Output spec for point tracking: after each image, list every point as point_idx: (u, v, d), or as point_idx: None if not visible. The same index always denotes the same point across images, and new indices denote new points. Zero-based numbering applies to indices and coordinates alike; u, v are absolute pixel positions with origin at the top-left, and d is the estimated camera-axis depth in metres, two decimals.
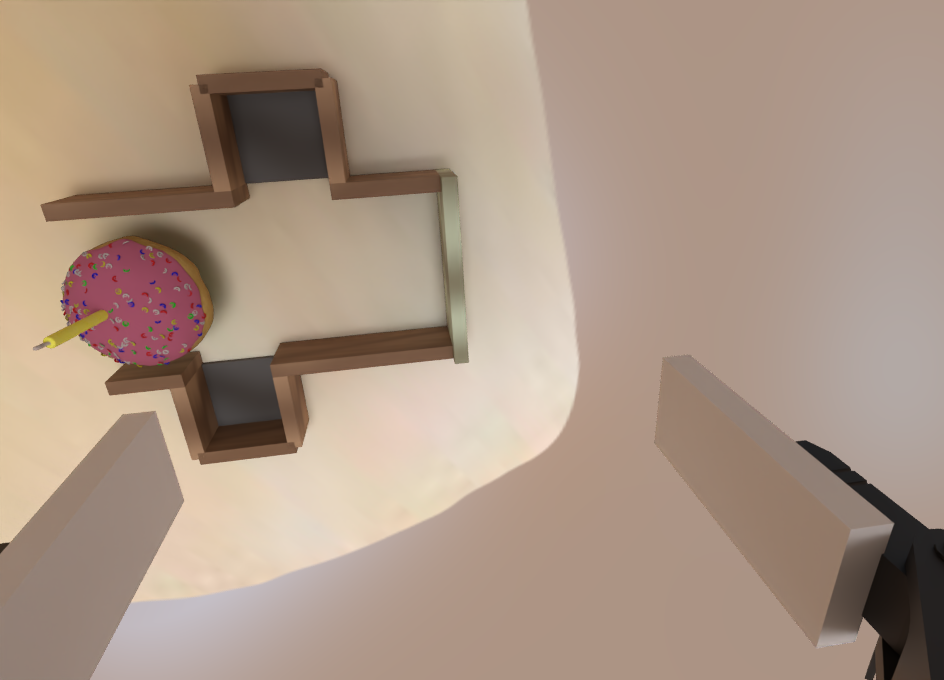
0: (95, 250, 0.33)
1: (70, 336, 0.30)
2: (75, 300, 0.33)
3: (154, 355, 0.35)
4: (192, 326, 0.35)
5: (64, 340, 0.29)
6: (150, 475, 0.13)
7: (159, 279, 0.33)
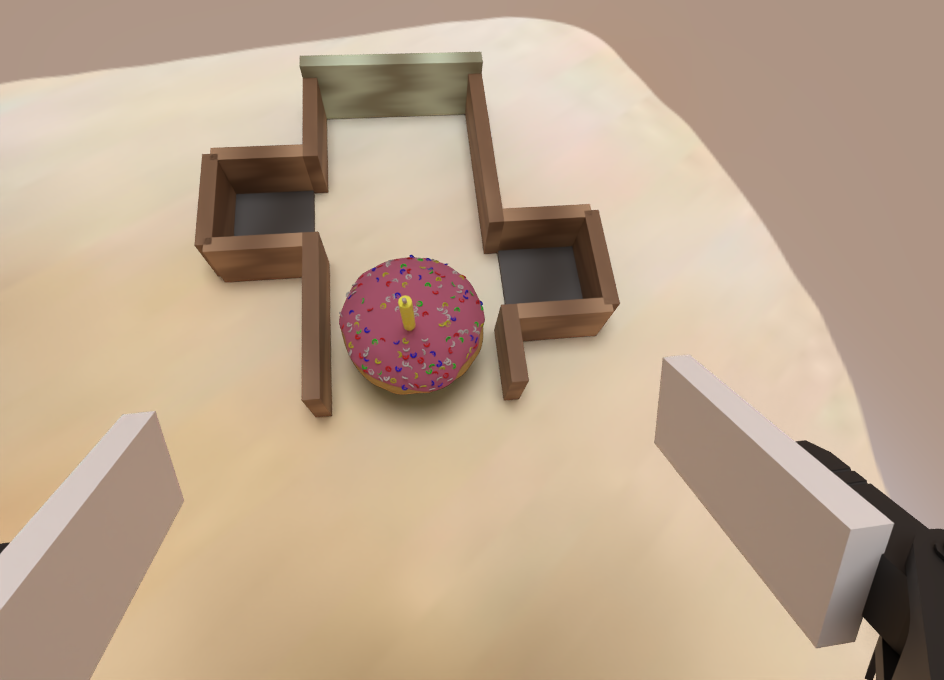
0: (346, 340, 0.31)
1: None
2: (394, 355, 0.29)
3: (464, 297, 0.31)
4: (432, 262, 0.32)
5: None
6: (150, 475, 0.13)
7: (375, 276, 0.31)
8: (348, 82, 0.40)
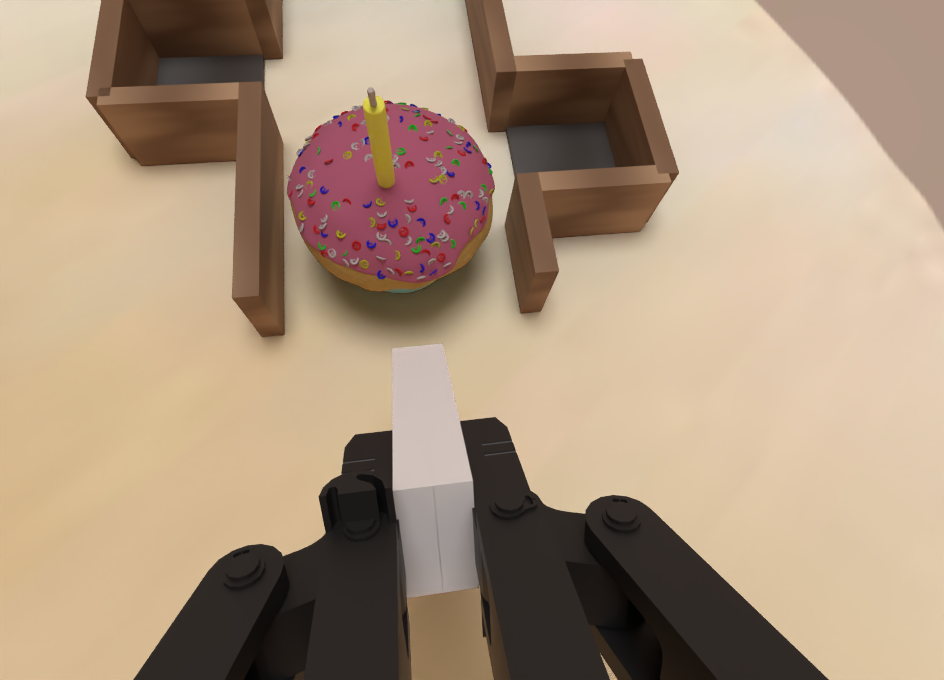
0: (296, 211, 0.21)
1: None
2: (364, 224, 0.20)
3: (465, 151, 0.22)
4: (419, 108, 0.23)
5: None
6: None
7: (338, 121, 0.22)
8: None
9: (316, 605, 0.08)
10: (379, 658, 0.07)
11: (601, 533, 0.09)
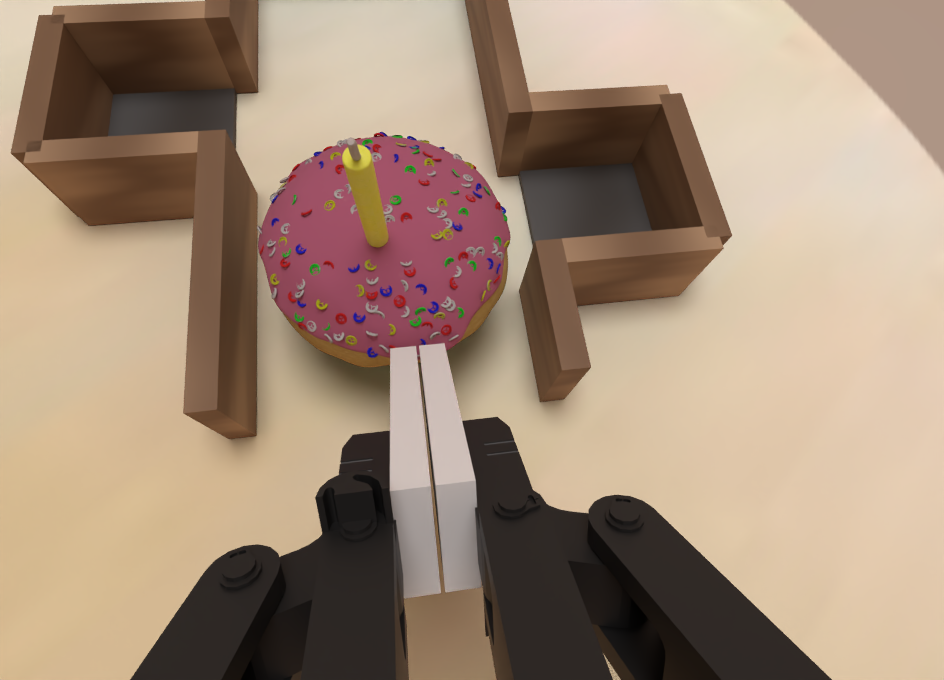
0: (268, 272, 0.17)
1: None
2: (350, 292, 0.16)
3: (475, 195, 0.18)
4: (419, 141, 0.19)
5: None
6: None
7: (319, 160, 0.18)
8: None
9: (313, 606, 0.08)
10: (376, 659, 0.07)
11: (604, 533, 0.09)
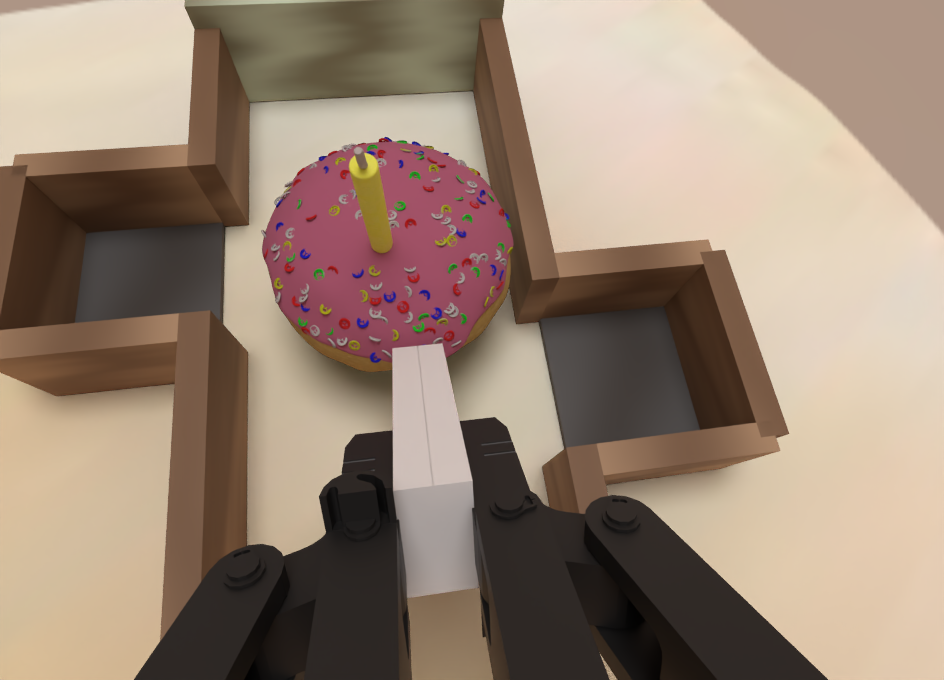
0: (271, 276, 0.17)
1: None
2: (353, 298, 0.16)
3: (478, 201, 0.18)
4: (423, 146, 0.19)
5: None
6: None
7: (323, 165, 0.18)
8: (276, 36, 0.23)
9: (316, 605, 0.08)
10: (379, 658, 0.07)
11: (601, 533, 0.09)
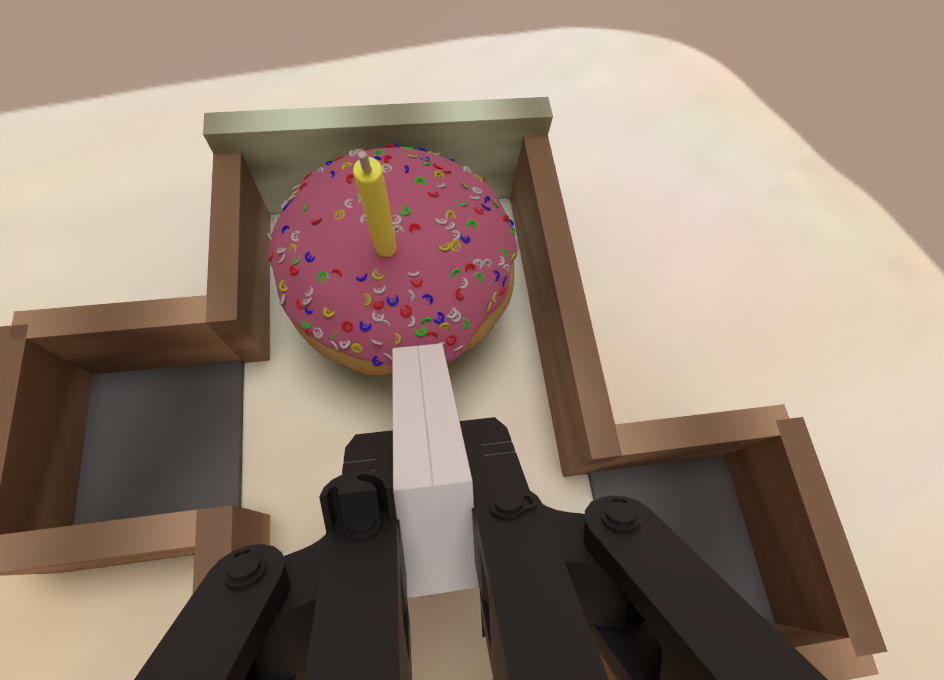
0: (276, 278, 0.17)
1: None
2: (357, 300, 0.16)
3: (483, 207, 0.18)
4: (429, 152, 0.19)
5: None
6: None
7: (330, 169, 0.18)
8: (302, 157, 0.21)
9: (317, 605, 0.08)
10: (379, 658, 0.07)
11: (600, 533, 0.09)
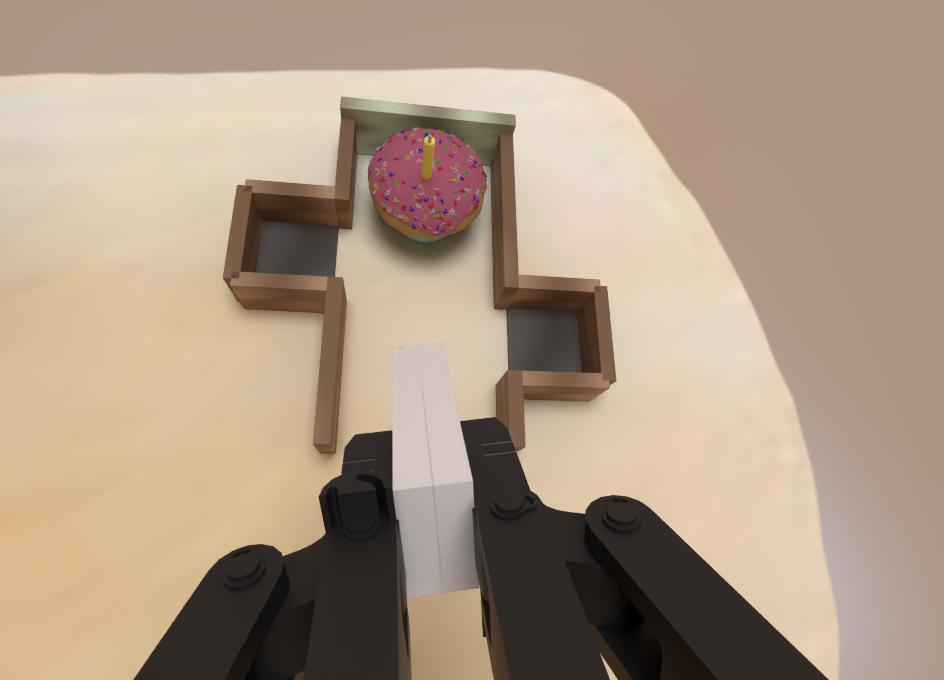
0: (372, 182, 0.37)
1: None
2: (410, 197, 0.36)
3: (473, 165, 0.38)
4: (451, 135, 0.39)
5: None
6: None
7: (404, 135, 0.38)
8: (384, 126, 0.41)
9: (316, 605, 0.08)
10: (378, 659, 0.07)
11: (601, 533, 0.09)
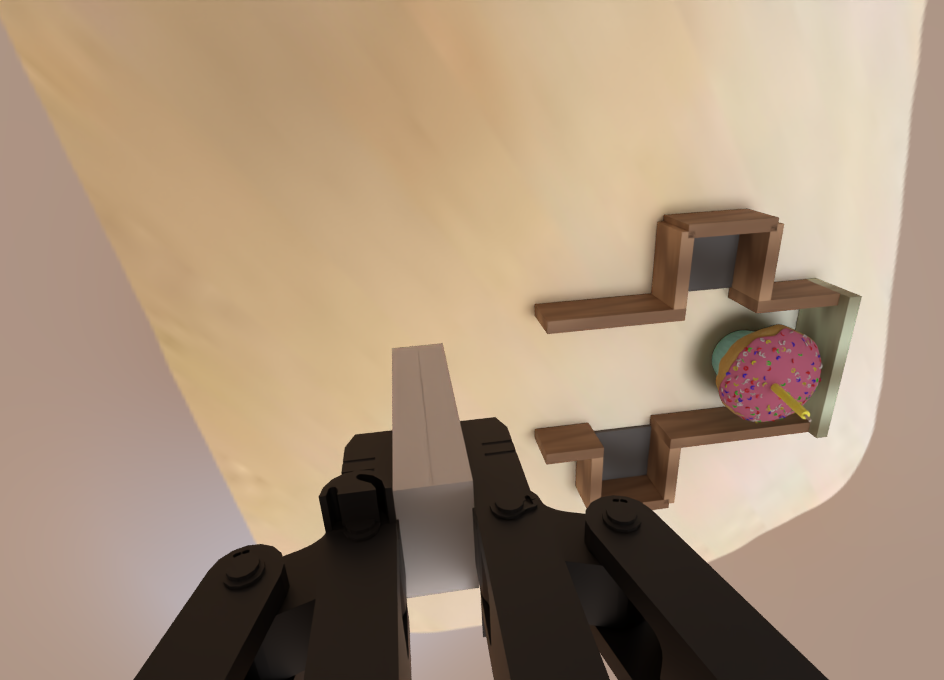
0: (772, 337, 0.43)
1: None
2: (755, 374, 0.43)
3: (780, 416, 0.45)
4: (811, 394, 0.45)
5: None
6: None
7: (814, 361, 0.43)
8: (827, 327, 0.45)
9: (316, 605, 0.08)
10: (378, 659, 0.07)
11: (601, 533, 0.09)
